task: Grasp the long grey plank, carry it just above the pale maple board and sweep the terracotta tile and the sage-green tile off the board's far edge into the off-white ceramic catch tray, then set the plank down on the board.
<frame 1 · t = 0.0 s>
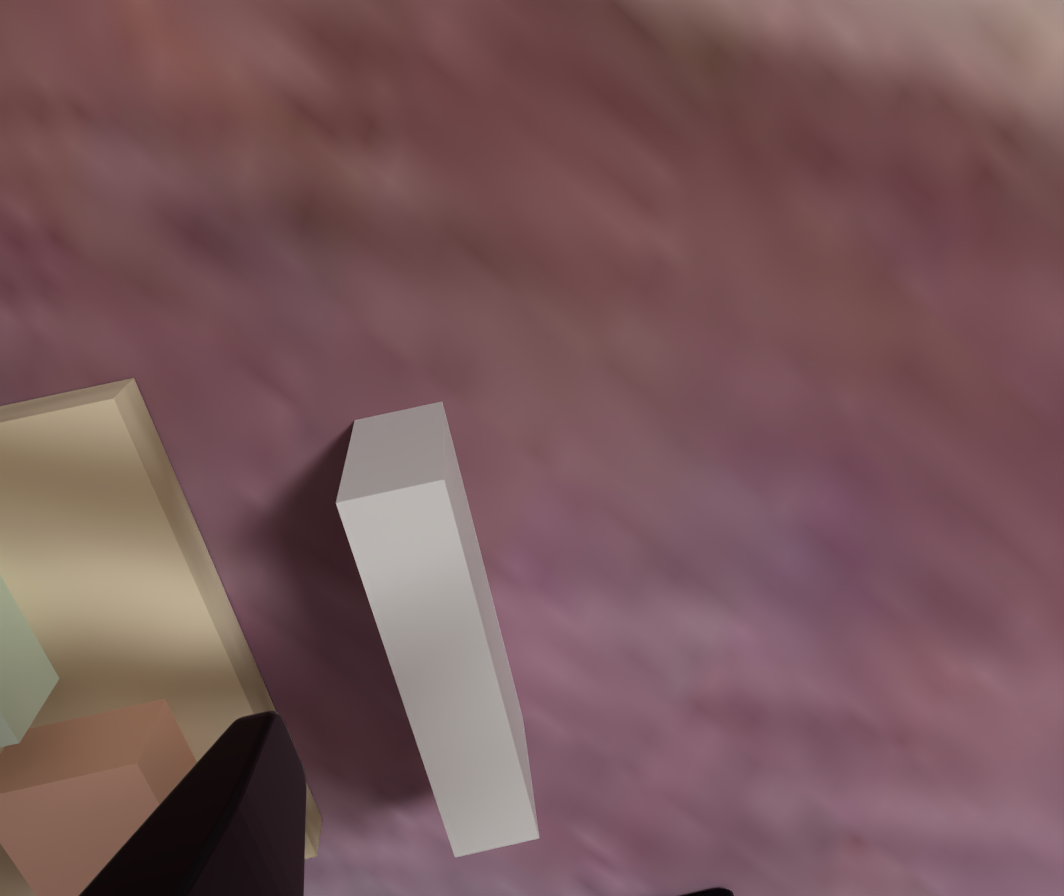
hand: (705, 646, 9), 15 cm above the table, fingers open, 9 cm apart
board: (50, 673, 25), on the table
long grey plank: (447, 581, 25), on the table
tile a: (120, 769, 25), point 1 cm above the table, touching board
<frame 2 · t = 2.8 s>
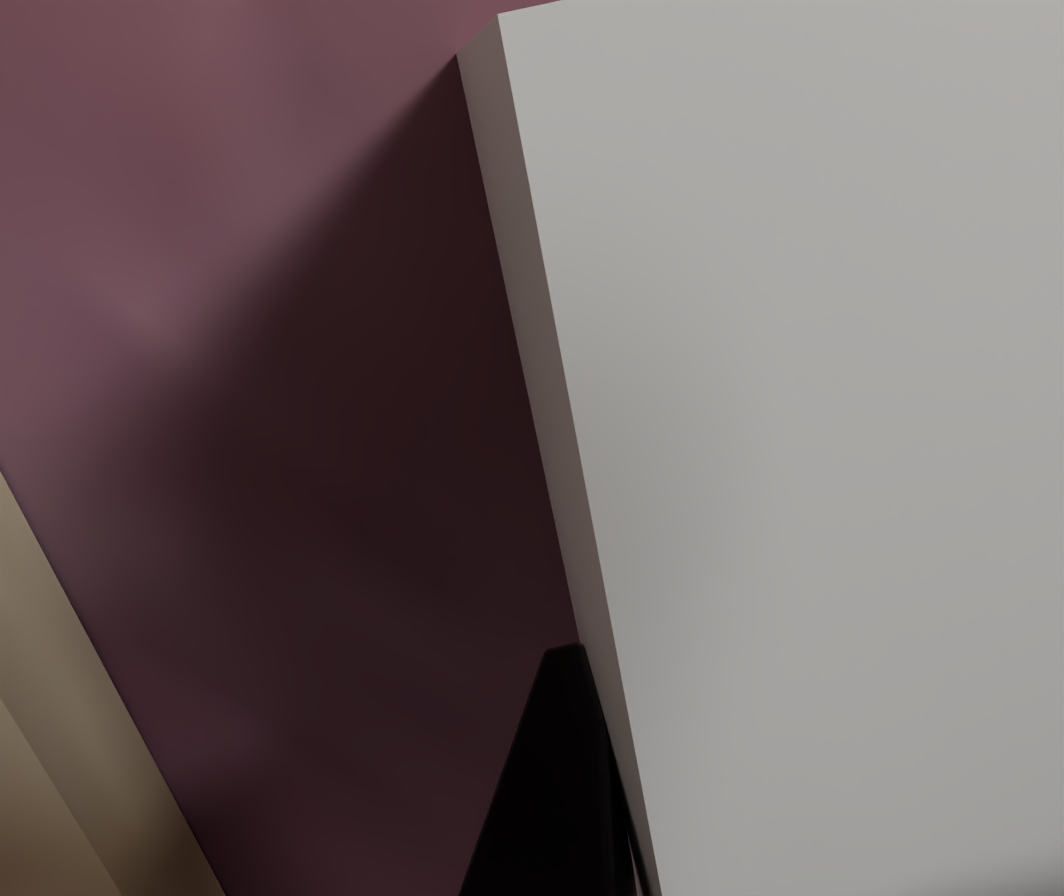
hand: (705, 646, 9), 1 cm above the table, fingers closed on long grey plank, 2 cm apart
long grey plank: (677, 589, 10), on the table, touching gripper
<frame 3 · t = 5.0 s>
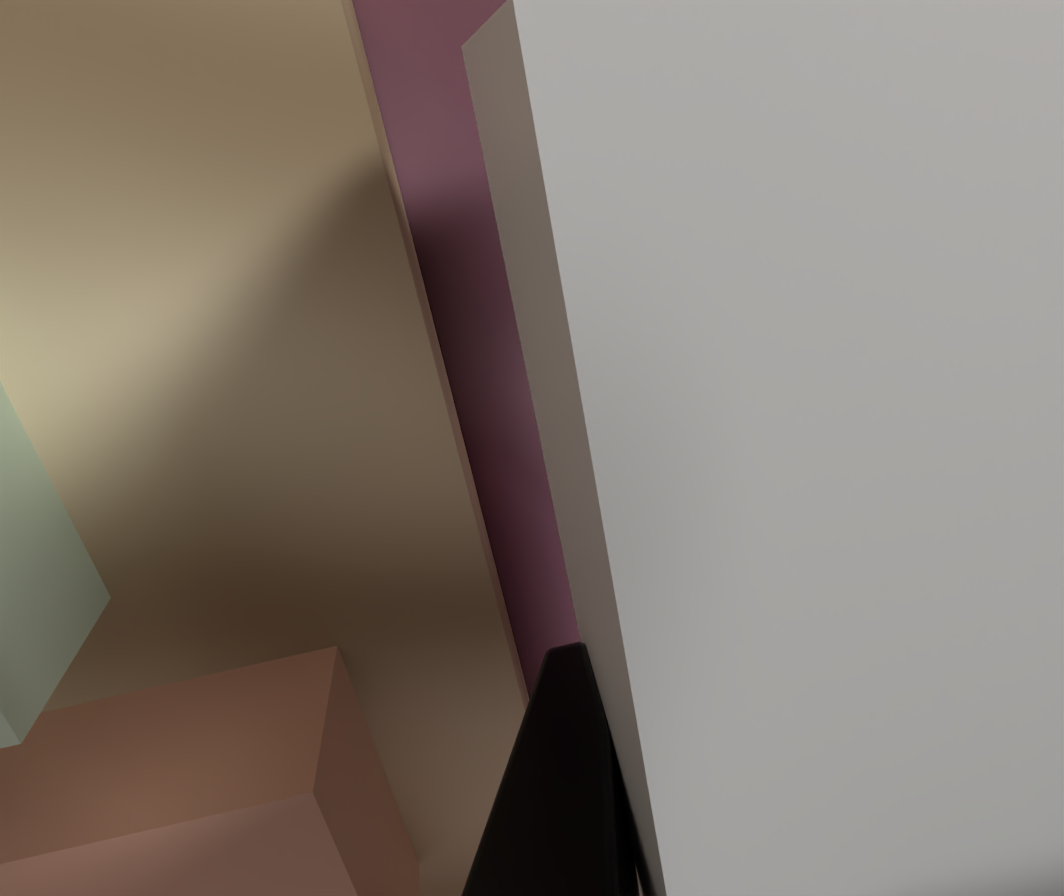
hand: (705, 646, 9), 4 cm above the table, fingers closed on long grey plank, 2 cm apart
board: (85, 597, 12), on the table
long grey plank: (677, 586, 10), point 3 cm above the table, touching gripper
tile a: (232, 797, 12), point 1 cm above the table, touching board
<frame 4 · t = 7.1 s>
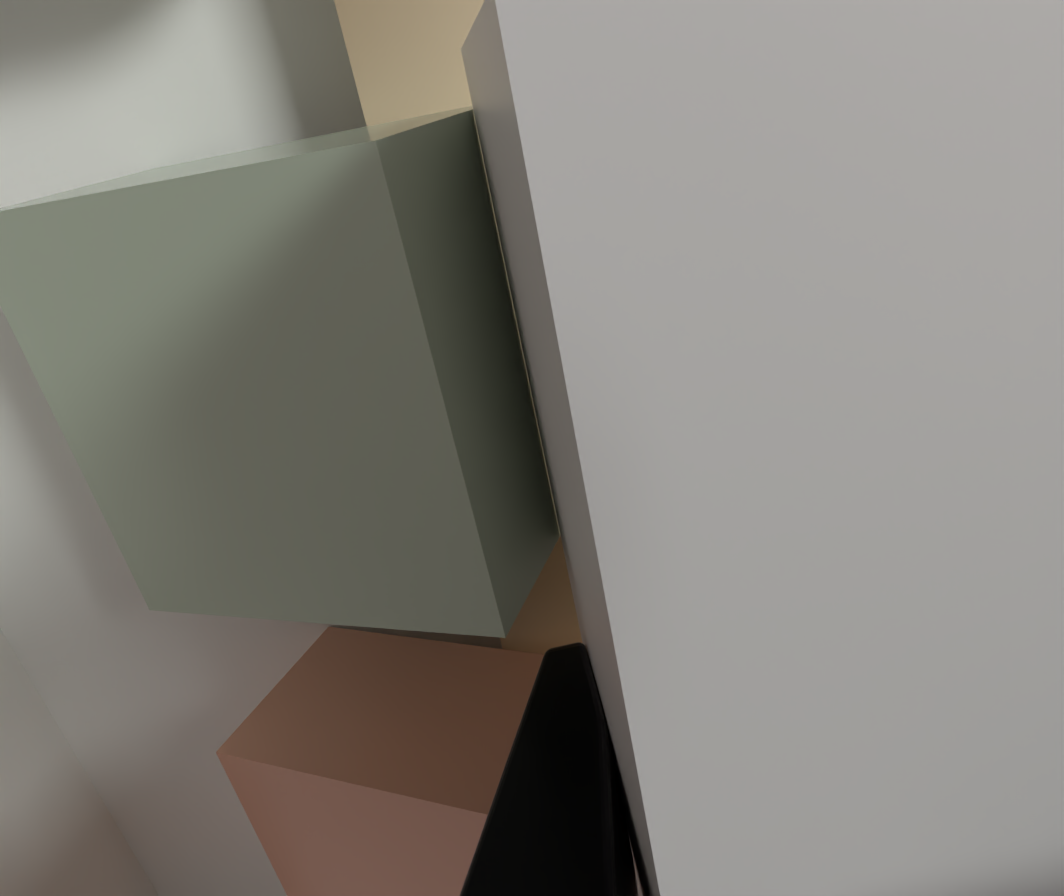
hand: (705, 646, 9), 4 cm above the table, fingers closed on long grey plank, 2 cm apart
tile b: (367, 336, 10), point 1 cm above the table, tilted 26°, touching tray
board: (862, 427, 12), on the table
long grey plank: (679, 586, 10), point 3 cm above the table, touching gripper, tile a
tray: (215, 571, 12), on the table
tile a: (490, 757, 12), point 1 cm above the table, tilted 29°, touching long grey plank
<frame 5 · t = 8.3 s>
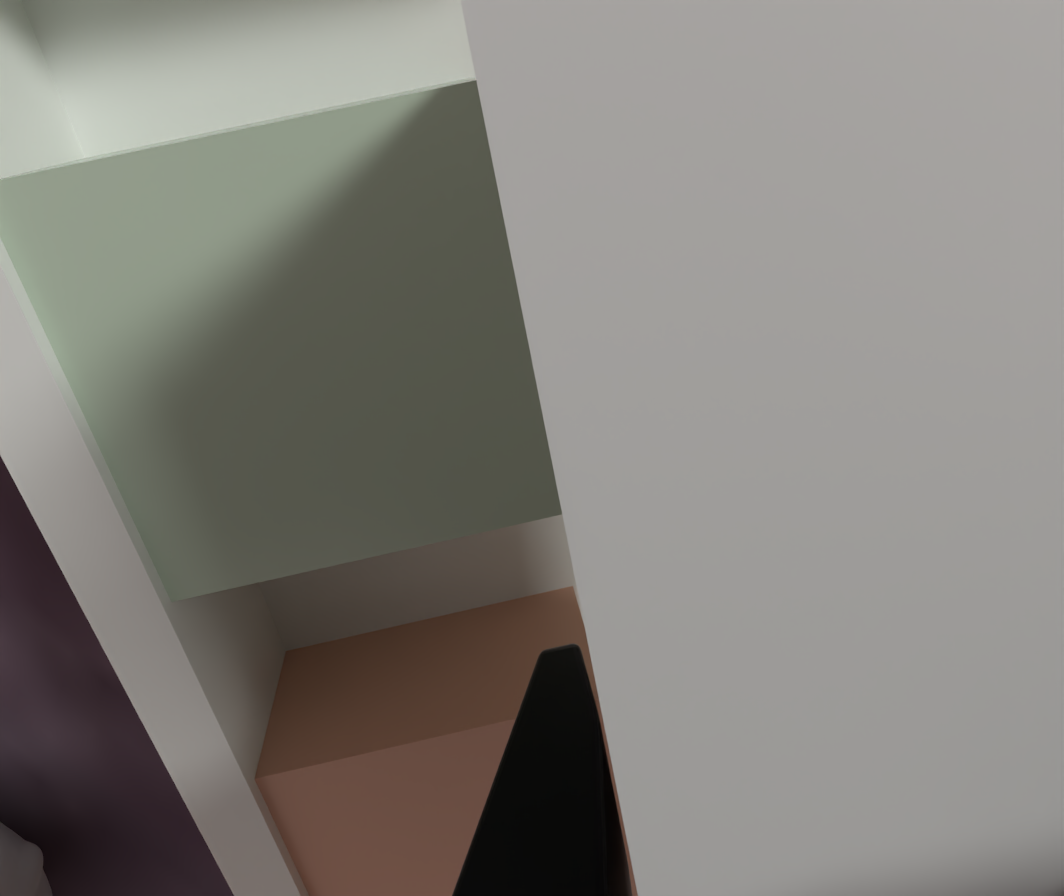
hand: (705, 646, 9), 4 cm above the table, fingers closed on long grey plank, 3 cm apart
tile b: (335, 305, 10), resting on tray, touching long grey plank
long grey plank: (686, 574, 10), point 3 cm above the table, touching gripper, tile a, tile b
tray: (461, 513, 12), on the table
tile a: (462, 726, 13), resting on tray, touching long grey plank
when the fingers open (3 cm above the table, at t = 10.9 s): long grey plank stays where it is, resting on board.
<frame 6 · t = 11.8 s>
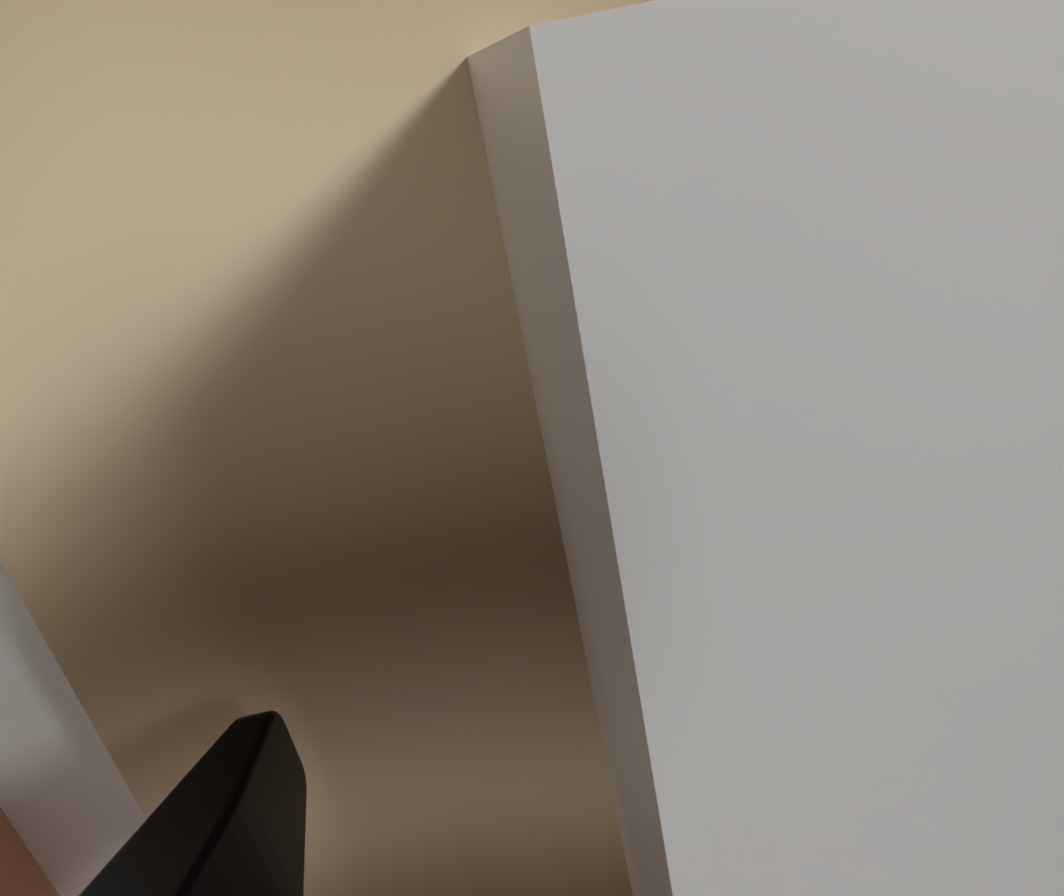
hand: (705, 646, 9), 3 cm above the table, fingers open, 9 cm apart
board: (573, 539, 11), on the table
long grey plank: (680, 590, 10), point 1 cm above the table, touching board
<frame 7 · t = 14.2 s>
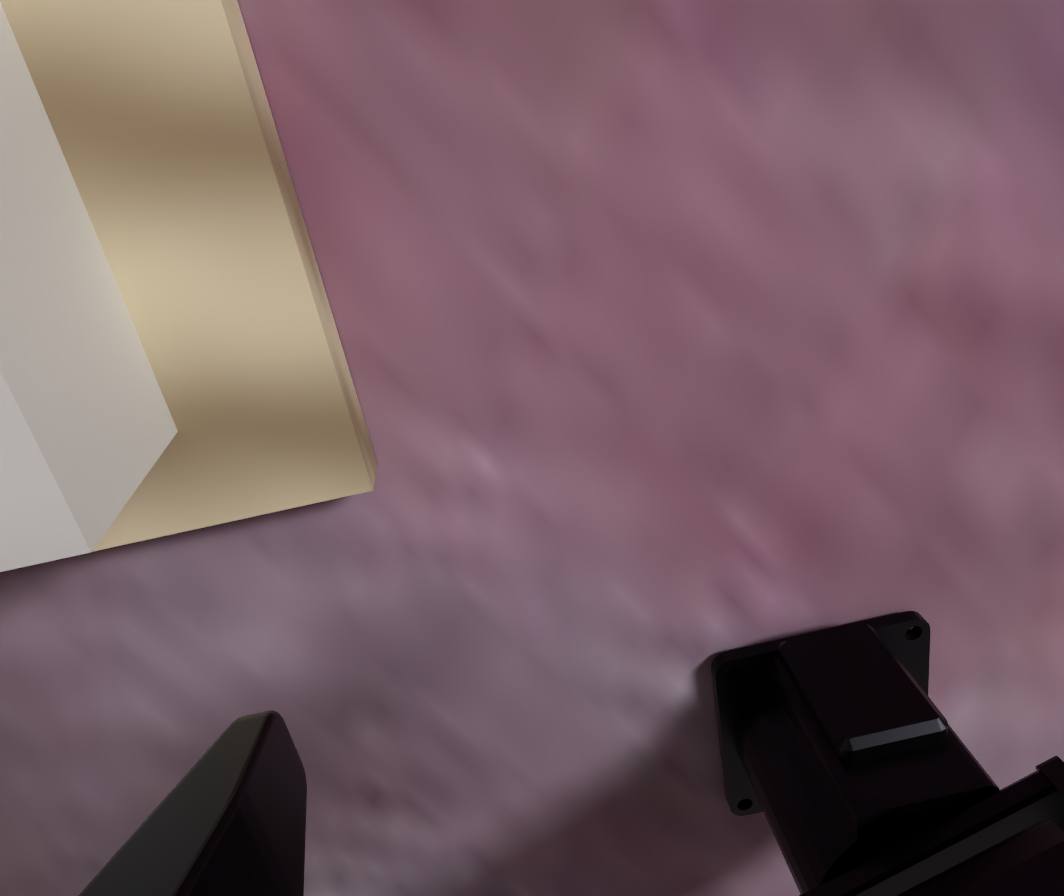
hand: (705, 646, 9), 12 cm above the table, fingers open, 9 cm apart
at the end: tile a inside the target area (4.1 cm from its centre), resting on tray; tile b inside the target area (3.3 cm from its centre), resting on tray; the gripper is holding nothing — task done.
